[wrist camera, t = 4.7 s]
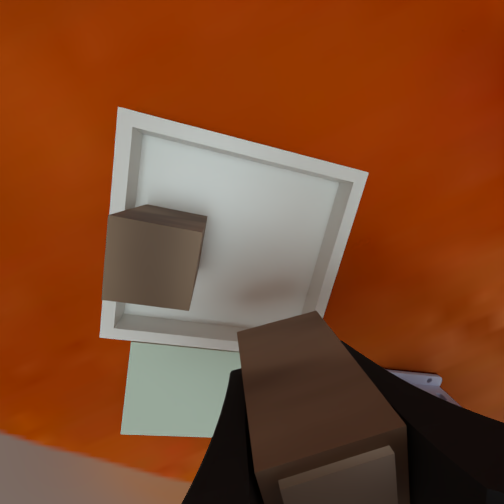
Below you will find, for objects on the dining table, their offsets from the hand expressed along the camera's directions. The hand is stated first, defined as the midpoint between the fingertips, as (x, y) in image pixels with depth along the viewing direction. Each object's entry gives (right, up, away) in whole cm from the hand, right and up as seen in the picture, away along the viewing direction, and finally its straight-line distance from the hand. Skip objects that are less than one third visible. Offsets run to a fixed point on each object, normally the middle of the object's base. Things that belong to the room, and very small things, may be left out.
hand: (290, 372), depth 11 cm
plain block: (-7, +6, +6) cm, 11 cm away
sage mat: (-6, -6, +10) cm, 13 cm away
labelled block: (0, 0, +1) cm, 1 cm away
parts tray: (-3, +6, +7) cm, 10 cm away
